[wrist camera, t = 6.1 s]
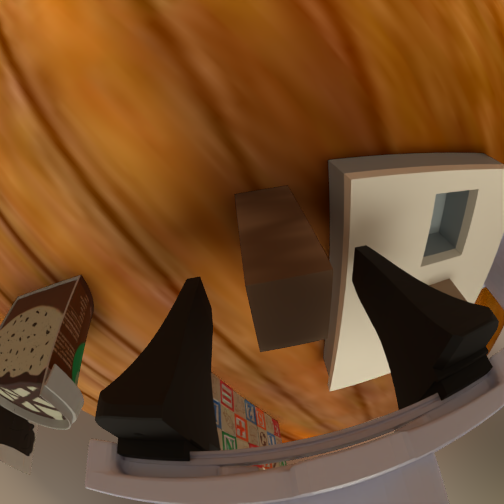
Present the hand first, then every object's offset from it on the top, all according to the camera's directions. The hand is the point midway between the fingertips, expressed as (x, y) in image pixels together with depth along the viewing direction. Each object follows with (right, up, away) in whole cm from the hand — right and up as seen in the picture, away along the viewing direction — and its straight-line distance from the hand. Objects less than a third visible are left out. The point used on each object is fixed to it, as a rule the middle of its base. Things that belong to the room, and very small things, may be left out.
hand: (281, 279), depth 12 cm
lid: (+12, -2, +5) cm, 13 cm away
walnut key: (-1, +3, +4) cm, 5 cm away
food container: (-18, -4, +7) cm, 19 cm away
